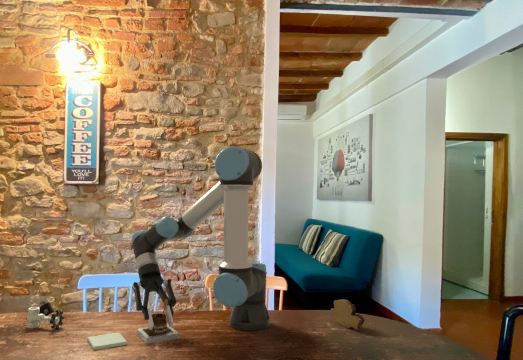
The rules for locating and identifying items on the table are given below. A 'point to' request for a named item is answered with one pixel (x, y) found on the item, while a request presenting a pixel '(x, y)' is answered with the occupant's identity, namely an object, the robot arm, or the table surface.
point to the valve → (43, 318)
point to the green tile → (106, 341)
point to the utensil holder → (159, 322)
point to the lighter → (45, 308)
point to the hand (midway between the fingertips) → (161, 326)
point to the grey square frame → (159, 338)
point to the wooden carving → (347, 314)
